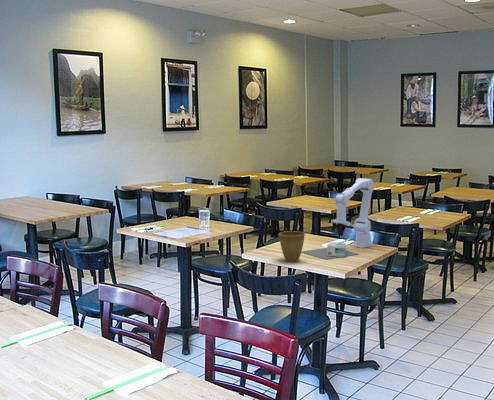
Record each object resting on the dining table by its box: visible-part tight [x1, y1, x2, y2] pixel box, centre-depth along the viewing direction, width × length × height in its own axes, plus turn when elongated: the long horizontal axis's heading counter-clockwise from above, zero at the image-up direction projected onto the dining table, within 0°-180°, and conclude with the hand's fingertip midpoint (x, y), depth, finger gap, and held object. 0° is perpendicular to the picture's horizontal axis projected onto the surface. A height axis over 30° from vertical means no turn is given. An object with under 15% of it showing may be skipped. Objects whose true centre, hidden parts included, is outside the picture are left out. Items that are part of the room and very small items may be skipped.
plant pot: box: [278, 230, 306, 263], centre depth 332 cm, size 15×15×16 cm
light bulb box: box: [326, 241, 347, 258], centre depth 346 cm, size 11×7×11 cm
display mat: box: [301, 247, 360, 261], centre depth 352 cm, size 26×24×1 cm
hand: (340, 235), depth 355 cm, fingers closed
